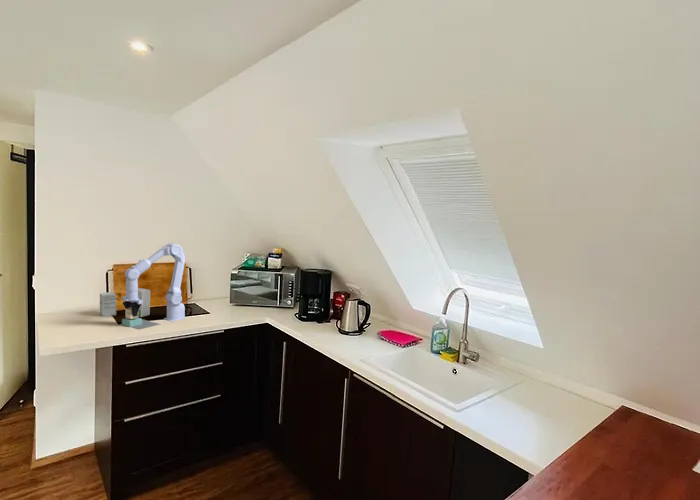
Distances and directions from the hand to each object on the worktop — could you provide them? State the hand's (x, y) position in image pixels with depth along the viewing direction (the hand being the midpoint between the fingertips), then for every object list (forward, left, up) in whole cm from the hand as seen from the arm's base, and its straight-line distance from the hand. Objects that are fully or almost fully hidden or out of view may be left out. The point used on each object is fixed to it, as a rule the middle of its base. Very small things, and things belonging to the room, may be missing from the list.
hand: (132, 315), depth 230 cm
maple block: (0, 0, -1) cm, 1 cm away
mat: (-3, +3, -6) cm, 7 cm away
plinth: (0, 0, -5) cm, 5 cm away
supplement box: (-5, -30, -6) cm, 31 cm away
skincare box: (-15, -14, -6) cm, 21 cm away
